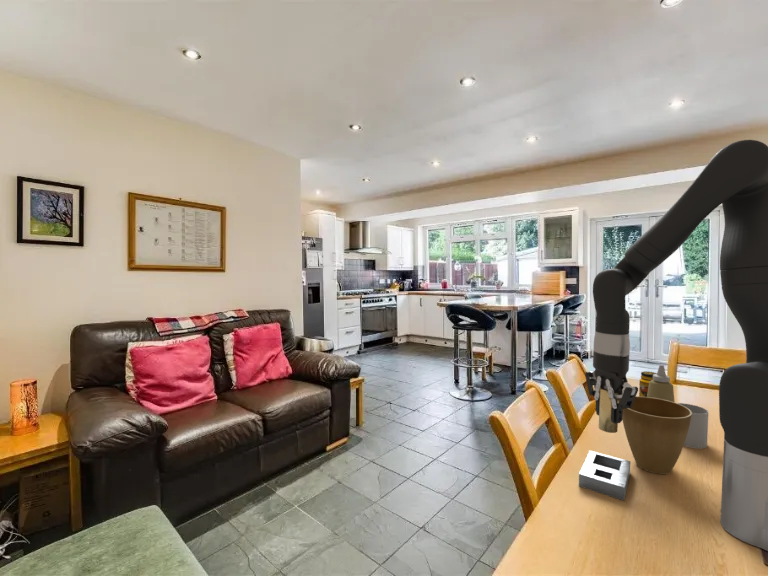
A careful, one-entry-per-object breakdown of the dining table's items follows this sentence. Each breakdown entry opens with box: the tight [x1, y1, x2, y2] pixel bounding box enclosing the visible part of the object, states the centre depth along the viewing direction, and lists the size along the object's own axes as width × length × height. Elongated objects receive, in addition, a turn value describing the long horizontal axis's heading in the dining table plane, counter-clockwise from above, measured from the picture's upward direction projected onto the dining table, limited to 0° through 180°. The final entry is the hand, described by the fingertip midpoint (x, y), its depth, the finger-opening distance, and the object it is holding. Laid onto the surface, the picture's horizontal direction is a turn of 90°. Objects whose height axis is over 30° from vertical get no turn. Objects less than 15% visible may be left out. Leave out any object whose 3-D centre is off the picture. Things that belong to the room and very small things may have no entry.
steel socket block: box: [578, 450, 631, 501], centre depth 89 cm, size 14×9×3 cm, turn 142°
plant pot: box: [622, 395, 692, 475], centre depth 94 cm, size 15×15×16 cm
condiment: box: [638, 371, 657, 397], centre depth 138 cm, size 7×8×12 cm
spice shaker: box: [598, 385, 619, 434], centre depth 91 cm, size 4×4×11 cm
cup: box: [677, 402, 709, 449], centre depth 108 cm, size 8×8×10 cm
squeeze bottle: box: [647, 364, 676, 403], centre depth 126 cm, size 8×8×18 cm
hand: (608, 418), depth 91 cm, fingers closed on spice shaker, 4 cm apart
